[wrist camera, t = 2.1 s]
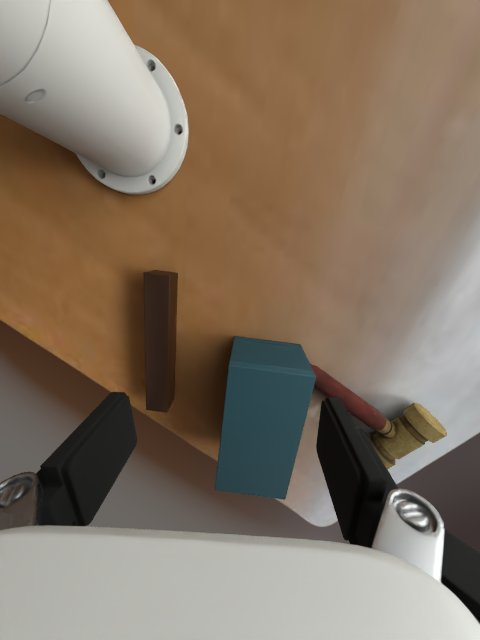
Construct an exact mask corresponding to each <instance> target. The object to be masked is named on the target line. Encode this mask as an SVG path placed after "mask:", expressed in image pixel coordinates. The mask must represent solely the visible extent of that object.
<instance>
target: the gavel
mask: <svg viewBox="0 0 480 640" xmlns="http://www.w3.org/2000/svg"><path fill="white" fill-rule="evenodd" d="M310 365H311V364H310ZM311 367H312V369H313V372H314V373H315V375H316V380H315V384H314V388H316V389H317V390H319V391H320V392H321V393H323V394H324V395H326V396H327V397H328V398H340V399H341V401H342V403H343V404H344V406H345V408H346V410H347V411H348V412H349V413H351V414H352V415H353V416H355V417H356V418H358V419H359V420H360V421H362V422H363V423H364V424H366V425H367V426H369V427H371V428H373V429H375V430H377V432H376V434H374V435H373V434H371V433H369V434H367V437H368V438H369V440H370V442H371V443H372V445H373V447H374V448H375V450H376V452H377V453H378V455H379V457H380V458H381V460H382V462H383V463H384V465H385V467H386V468H387V469H388V468H390V467H392V466H394V465H395V459H400V458H402V457H403V456H405V455H407V454H409V453H410V452H412V451H414V450H416V449H417V448H419V447H421V446H423V445H424V444H425V442H426V441H428V440H429V441H430V442H432V443H434V442H436V441H438V440H439V439H441V438H443V437H445V436H446V435H447V432H446V430H445V428H444V427H443V426H442V425H441V423H440V422H439V421H438V420H437V419H436V418H435V417H434V416H433V415H432V414H431V413H430V412H429V411H428V410H426V409H425V408H424V407H423V406H421V405H420V404H417V403H413V404H412V405H410V406H409V407H407V408H406V409H404V410H403V413H404V415H403V416H401V417H400V416H399V417H397V418H396V419H394V420H393V421H389V420H388V419H386V418H385V417H384V416H383V415H382V414H381V413H380V412H379V411H378V410H376V409H375V408H374V407H372V406H371V405H369V404H368V403H367V402H365V401H364V400H363V399H361V398H360V397H358V396H357V395H356V394H354V393H353V392H352V391H350V390H349V389H347V388H346V387H345V386H343V385H342V384H340V383H339V382H338V381H336V380H335V379H334V378H332V377H331V376H329V375H328V374H327V373H325V372H324V371H323V370H321V369H320V368H318V367H317V366H314V365H311Z"/></svg>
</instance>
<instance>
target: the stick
mask: <svg viewBox="0 0 480 640" xmlns="http://www.w3.org/2000/svg"><path fill="white" fill-rule="evenodd" d="M177 281H178V273H173V272H165V271H157V270H154V271H150V272H146V273H144V312H145V368H146V410H151V411H159V412H166V413H167V412H168V410H169V408H170V406H171V404H172V402H173V400H174V387H175V351H176V316H177Z"/></svg>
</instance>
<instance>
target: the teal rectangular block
mask: <svg viewBox="0 0 480 640" xmlns="http://www.w3.org/2000/svg"><path fill="white" fill-rule="evenodd" d="M315 380H316V375H315V373H314V372H313V369H312V367H311V365H310V363H309V361H308V359H307V357H306V355H305V353H304V351H303V349H302V346H301V345H300V344H292V343H284V342H276V341H268V340H260V339H252V338H245V337H237V336H235V337H234V342H233V347H232V352H231V357H230V362H229V368H228V377H227V386H226V395H225V404H224V413H223V422H222V431H221V440H220V449H219V457H218V466H217V475H216V485H215V490H219V491H227V492H234V493H241V494H249V495H257V496H263V497H270V498H278V499H285V498H286V494H287V490H288V486H289V482H290V478H291V475H292V471H293V467H294V463H295V459H296V455H297V451H298V447H299V443H300V439H301V435H302V431H303V427H304V423H305V419H306V415H307V411H308V407H309V403H310V399H311V395H312V391H313V388H314V384H315Z"/></svg>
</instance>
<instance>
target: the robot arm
mask: <svg viewBox="0 0 480 640" xmlns="http://www.w3.org/2000/svg"><path fill="white" fill-rule="evenodd" d="M153 70H154V71H153ZM0 114H1V115H3V116H5V117H7V118H9V119H11V120H13V121H15V122H17V123H18V124H20V125H22V126H24V127H26V128H28V129H30V130H32V131H34V132H36V133H38V134H40V135H42V136H44V137H45V138H47V139H49V140H51V141H53V142H55V143H57V144H59V145H61V146H63V147H65V148H67V149H69V150H70V151H72V152H74V153H76V155H77V157H78V158H79V160H80V161H81V163H82V164H83V165H84V167H85V168H86V169H87V171H88V172H89V173H90V174H91V175H93V176H94V177H95V178H96V179H97V180H98V181H100V182H101V183H103V184H104V185H106V186H107V187H109V188H112V189H114V190H116V191H119V192H122V193H125V194H132V195H142V194H148V193H151V192H154V191H157V190H158V189H160V188H162V187H163V186H165V185H166V184H167V183H168V182H169V181H170V180H171V179H172V178H173V177H174V176H175V174H176V173H177V171H178V170H179V168H180V166H181V164H182V162H183V159H184V157H185V153H186V149H187V145H188V132H189V130H188V117H187V113H186V109H185V105H184V101H183V99H182V97H181V94H180V92H179V89H178V87H177V85H176V84H175V82H174V80H173V78H172V76H171V75H170V73H169V72H168V71H167V69H166V68H165V67H164V65H163V64H162V63H161V62H160V61H159V60H158V59H157V58H156V57H155V56H153V55H152V54H151V53H149V52H147V51H146V50H144V49H143V48H141V47H138V46H136V45H134V44H133V43H132V41H131V39H130V38H129V36H128V34H127V33H126V31H125V29H124V28H123V26H122V24H121V22H120V21H119V19H118V17H117V16H116V14H115V12H114V11H113V9H112V7H111V6H110V4H109V2H108V1H107V0H0ZM180 131H182V133H181V134H180V135H179V132H180ZM105 174H106V175H105ZM154 180H156V182H155V184H153V181H154ZM136 443H137V436H136V431H135V425H134V420H133V415H132V409H131V404H130V399H129V396H127V395H126V394H125V393H124V392H111V393H110V394H109V395H108V396H107V397H106V398H105V399H104V400H103V401H102V402H101V404H100V405H99V406H98V407H97V408H96V409H95V410H94V411H93V412H92V413H91V414H90V415H89V416H88V417H87V418H86V419H85V420H84V421H83V422H82V423H81V424H80V425H79V426H78V428H77V429H76V430H75V431H74V432H73V433H72V434H71V435H70V436H69V437H68V438H67V439H66V440H65V441H64V442H63V443H62V444H61V445H60V446H59V447H58V448H57V449H56V450H55V451H54V453H52V455H51V456H50V457H49V458H48V459H47V460H46V461H45V462H44V463H43V464H42V465H41V466H40V467H41V469H40V470H39V471H38V472H37V473H36V474H35V473H33V472H24V473H20V474H17V475H14V476H12V477H10V478H8V479H6V480H5V481H3V482H1V483H0V640H480V552H478V551H477V550H475V549H474V548H472V547H471V546H469V545H468V544H466V543H465V542H463V541H462V540H460V539H459V538H457V537H456V536H454V535H453V534H451V533H450V532H448V531H447V530H445V529H444V524H443V521H442V519H441V517H440V515H439V513H438V512H437V511H436V510H435V508H434V507H433V506H432V505H431V504H430V503H429V502H428V501H427V500H425V499H424V498H422V497H421V496H419V495H418V494H416V493H414V492H412V491H409V490H405V489H398V487H397V485H396V484H395V482H394V480H393V479H392V477H391V475H390V473H389V472H388V470H387V468H386V467H385V465H384V463H383V462H382V460H381V458H380V457H379V455H378V453H377V452H376V450H375V448H374V447H373V445H372V443H371V442H370V440H369V438H368V437H367V435H366V433H365V432H364V431H363V430H362V429H357V427H356V425H355V424H354V422H353V420H352V418H351V417H350V415H349V413H348V411H347V410H346V408H345V406H344V404H343V403H342V401H341V399H340V398H326V400H325V401H322V404H321V412H320V420H319V428H318V436H317V445H316V447H317V454H318V457H319V460H320V464H321V467H322V470H323V473H324V477H325V480H326V483H327V486H328V489H329V493H330V496H331V499H332V502H333V506H334V509H335V512H336V515H337V518H338V522H339V524H340V528H341V531H342V534H343V537H344V539H345V540H349V542H350V544H346V543H338V542H328V541H317V540H305V539H294V538H278V537H263V536H248V535H231V534H215V533H199V532H198V533H197V532H180V531H164V530H146V529H125V528H107V527H86V525H89V524H90V523H91V521H92V520H93V518H94V516H95V515H96V513H97V511H98V510H99V508H100V506H101V504H102V503H103V501H104V499H105V498H106V496H107V494H108V492H109V491H110V489H111V487H112V486H113V484H114V482H115V480H116V478H117V477H118V475H119V473H120V472H121V470H122V468H123V466H124V465H125V463H126V462H127V460H128V458H129V456H130V455H131V453H132V451H133V449H134V448H135V446H136Z"/></svg>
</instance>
